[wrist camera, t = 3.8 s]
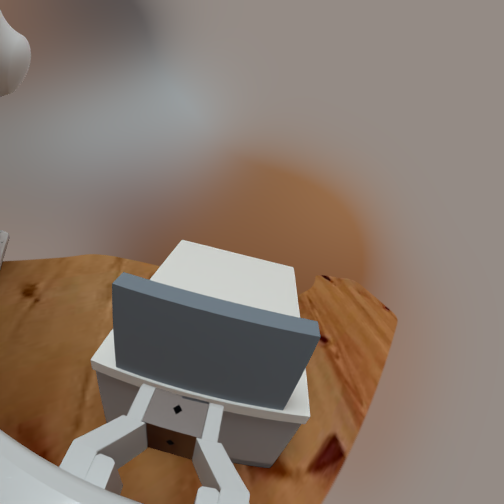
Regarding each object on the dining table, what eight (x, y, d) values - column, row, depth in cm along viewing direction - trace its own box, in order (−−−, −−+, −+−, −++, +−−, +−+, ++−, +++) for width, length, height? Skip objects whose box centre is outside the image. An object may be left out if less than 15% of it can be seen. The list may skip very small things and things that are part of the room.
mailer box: (269, 468, 23) (303, 421, 19) (107, 426, 22) (95, 367, 19) (273, 327, 45) (291, 277, 41) (172, 302, 44) (179, 249, 41)
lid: (305, 424, 19) (353, 345, 16) (92, 368, 18) (81, 276, 15) (291, 273, 42) (308, 220, 39) (181, 246, 41) (190, 191, 38)
